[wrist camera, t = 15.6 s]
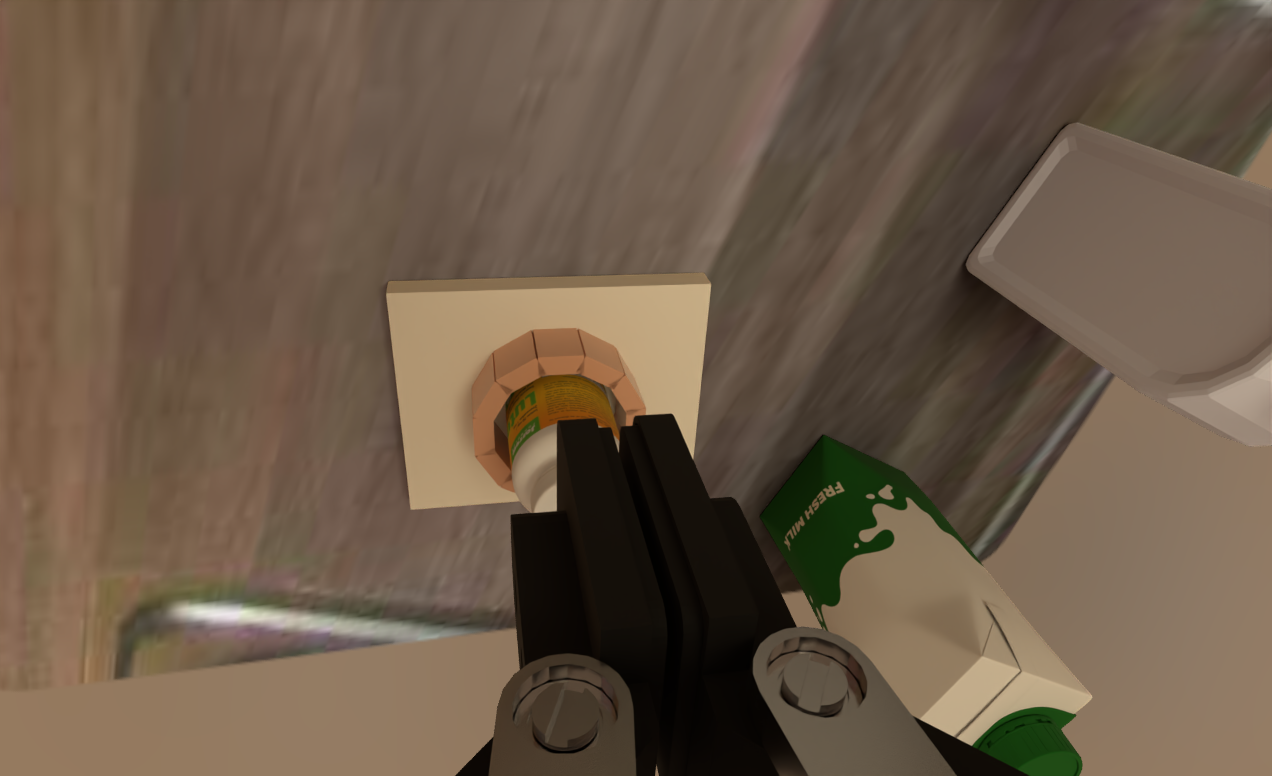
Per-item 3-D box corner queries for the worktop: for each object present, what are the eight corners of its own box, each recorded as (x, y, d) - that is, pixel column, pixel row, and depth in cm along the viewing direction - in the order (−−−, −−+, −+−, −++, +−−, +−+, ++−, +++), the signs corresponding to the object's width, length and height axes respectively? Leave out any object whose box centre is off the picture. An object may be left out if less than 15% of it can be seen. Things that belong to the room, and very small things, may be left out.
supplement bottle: (515, 347, 41) (529, 456, 33) (616, 362, 43) (654, 470, 34) (495, 434, 44) (505, 557, 35) (592, 446, 45) (622, 566, 37)
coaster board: (388, 281, 40) (386, 293, 38) (703, 272, 43) (711, 283, 41) (412, 493, 46) (410, 509, 45) (684, 472, 49) (690, 487, 48)
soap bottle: (1041, 311, 48) (1436, 583, 29) (959, 265, 45) (1333, 530, 26) (1149, 176, 45) (1676, 380, 25) (1067, 118, 42) (1587, 295, 23)
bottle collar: (468, 332, 40) (468, 360, 38) (638, 325, 42) (649, 352, 39) (476, 472, 44) (477, 506, 42) (630, 461, 46) (640, 494, 44)
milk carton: (841, 561, 56) (1009, 845, 39) (738, 520, 52) (874, 816, 35) (923, 465, 53) (1144, 729, 36) (819, 415, 49) (1010, 683, 32)
